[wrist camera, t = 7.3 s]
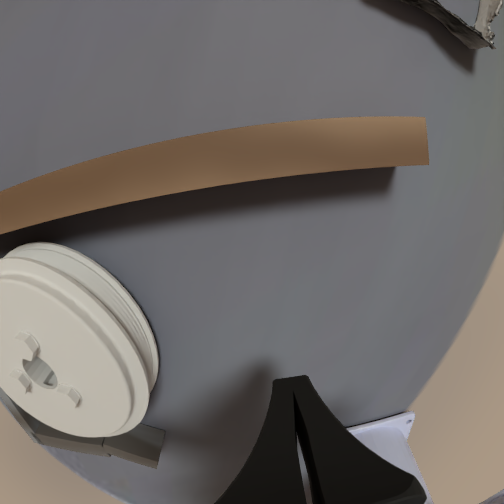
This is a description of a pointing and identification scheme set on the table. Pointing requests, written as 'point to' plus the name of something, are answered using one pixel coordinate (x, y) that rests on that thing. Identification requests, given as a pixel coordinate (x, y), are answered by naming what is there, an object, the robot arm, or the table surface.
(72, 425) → the lid
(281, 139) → the u-shaped bar frame
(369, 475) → the robot arm
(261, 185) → the table surface
